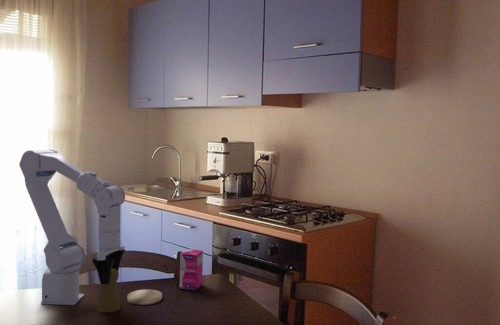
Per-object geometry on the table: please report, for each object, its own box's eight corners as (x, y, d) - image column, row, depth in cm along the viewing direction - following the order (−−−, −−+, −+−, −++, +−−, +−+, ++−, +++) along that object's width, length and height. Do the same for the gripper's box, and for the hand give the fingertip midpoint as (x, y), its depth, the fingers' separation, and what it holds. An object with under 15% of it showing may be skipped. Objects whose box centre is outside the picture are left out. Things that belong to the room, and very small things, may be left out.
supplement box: (178, 289, 147) (179, 253, 146) (185, 283, 153) (186, 248, 152) (196, 291, 146) (197, 254, 145) (202, 285, 151) (203, 250, 151)
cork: (113, 313, 126) (113, 273, 125) (92, 311, 127) (93, 271, 126) (123, 305, 132) (124, 267, 131) (104, 303, 133) (104, 265, 132)
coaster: (123, 304, 133) (123, 300, 133) (132, 292, 143) (132, 288, 143) (158, 305, 133) (158, 301, 133) (165, 293, 143) (165, 289, 143)
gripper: (116, 236, 121) (115, 288, 121) (131, 225, 135) (130, 271, 136) (88, 235, 121) (88, 287, 122) (106, 224, 135) (106, 271, 136)
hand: (109, 279), depth 129 cm, fingers open, 7 cm apart
